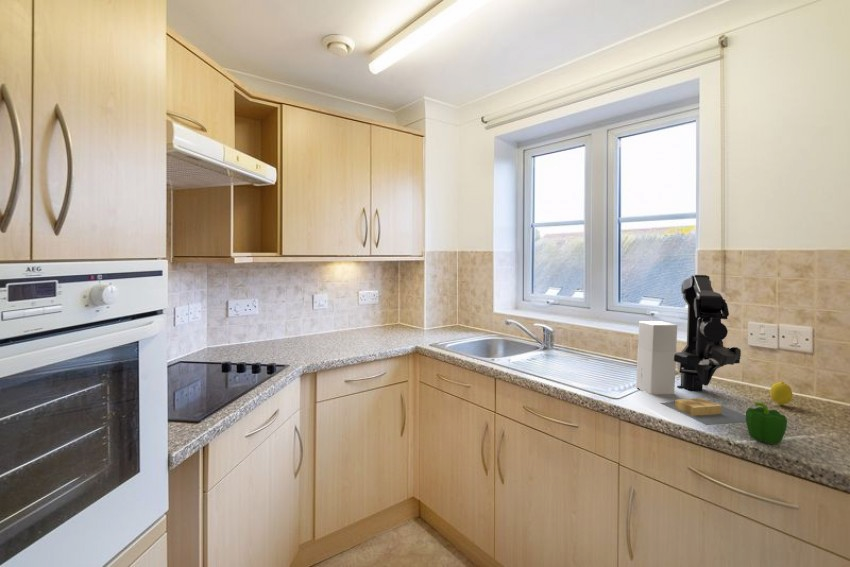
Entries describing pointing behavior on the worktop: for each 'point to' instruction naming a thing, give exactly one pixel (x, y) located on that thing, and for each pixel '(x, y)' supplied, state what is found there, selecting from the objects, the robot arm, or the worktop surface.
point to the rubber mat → (714, 416)
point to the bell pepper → (765, 424)
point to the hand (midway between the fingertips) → (705, 385)
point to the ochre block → (698, 406)
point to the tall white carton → (656, 357)
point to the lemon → (781, 393)
